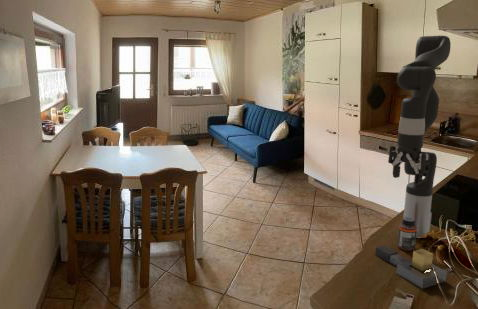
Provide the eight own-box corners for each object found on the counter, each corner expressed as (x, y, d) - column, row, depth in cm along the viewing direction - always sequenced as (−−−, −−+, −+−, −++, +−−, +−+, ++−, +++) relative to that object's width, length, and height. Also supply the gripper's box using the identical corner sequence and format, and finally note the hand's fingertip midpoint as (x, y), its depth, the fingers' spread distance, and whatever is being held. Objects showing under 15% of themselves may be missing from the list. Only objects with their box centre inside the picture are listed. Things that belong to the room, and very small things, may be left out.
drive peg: (419, 271, 127) (422, 248, 125) (430, 277, 123) (433, 253, 121) (410, 274, 125) (413, 251, 123) (421, 280, 121) (424, 256, 120)
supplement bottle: (400, 242, 148) (403, 214, 146) (416, 247, 145) (420, 218, 142) (394, 248, 144) (397, 219, 141) (412, 253, 140) (415, 223, 137)
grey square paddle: (390, 250, 142) (391, 242, 141) (445, 281, 122) (446, 271, 121) (368, 256, 138) (369, 247, 137) (422, 288, 118) (423, 278, 117)
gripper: (439, 134, 119) (433, 185, 123) (402, 127, 132) (397, 173, 136) (421, 136, 116) (416, 188, 120) (385, 129, 129) (381, 176, 133)
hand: (406, 180), depth 128 cm, fingers open, 8 cm apart
